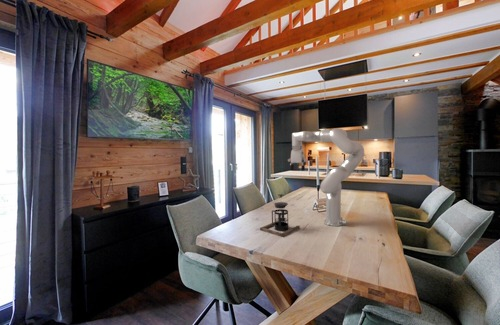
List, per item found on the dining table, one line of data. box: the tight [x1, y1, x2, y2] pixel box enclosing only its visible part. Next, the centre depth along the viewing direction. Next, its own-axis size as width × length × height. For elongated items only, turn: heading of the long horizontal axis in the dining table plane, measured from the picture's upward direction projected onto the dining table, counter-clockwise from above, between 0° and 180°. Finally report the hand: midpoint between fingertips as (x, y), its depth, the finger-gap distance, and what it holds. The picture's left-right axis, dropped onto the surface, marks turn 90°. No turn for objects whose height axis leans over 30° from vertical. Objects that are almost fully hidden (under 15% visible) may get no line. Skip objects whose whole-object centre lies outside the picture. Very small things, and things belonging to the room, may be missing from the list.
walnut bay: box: [259, 221, 301, 238], centre depth 142 cm, size 18×20×2 cm
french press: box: [271, 193, 290, 232], centre depth 142 cm, size 12×9×23 cm
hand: (297, 170), depth 168 cm, fingers open, 9 cm apart
